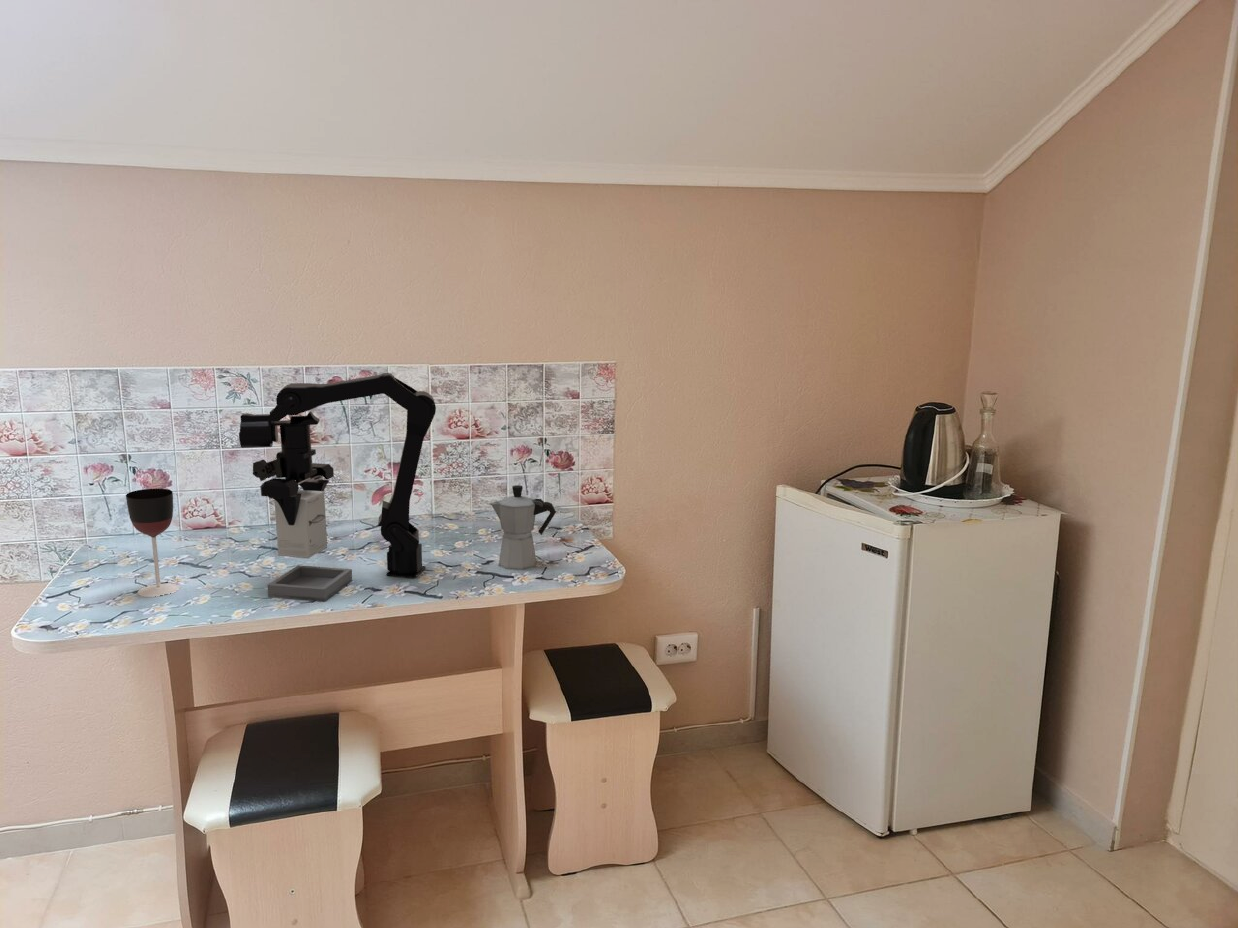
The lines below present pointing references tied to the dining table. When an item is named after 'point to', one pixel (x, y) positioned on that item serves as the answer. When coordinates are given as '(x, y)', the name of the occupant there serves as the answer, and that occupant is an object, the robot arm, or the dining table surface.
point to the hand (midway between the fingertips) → (301, 519)
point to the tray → (310, 583)
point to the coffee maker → (519, 528)
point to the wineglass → (152, 527)
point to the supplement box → (303, 527)
